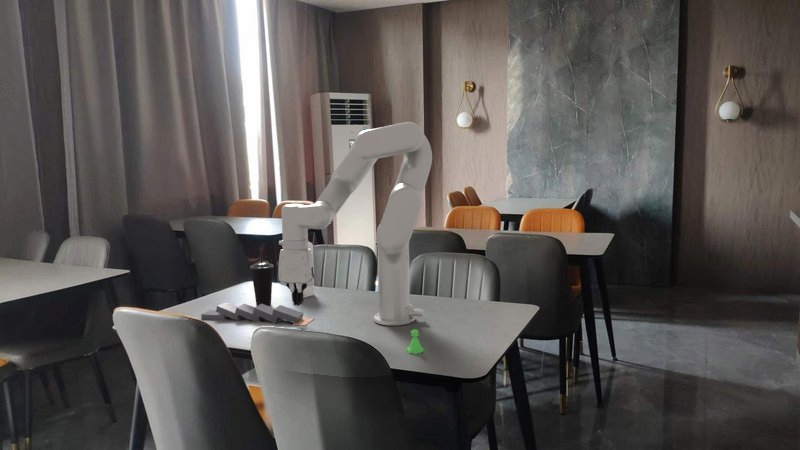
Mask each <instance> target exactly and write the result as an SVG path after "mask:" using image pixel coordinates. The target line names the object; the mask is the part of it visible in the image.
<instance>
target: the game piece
mask: <svg viewBox="0 0 800 450" xmlns="http://www.w3.org/2000/svg"><path fill="white" fill-rule="evenodd" d="M410 334H411V338H412V339H411V342H410V344H409V346H408V347H406V352H407V351H408V352H409V353H414V354H413V355H418V354H417V353H420V354H422V353H423V352H424V347H422V345H421V343H420V340H419V337H418V336H420V333H419V330H418V329H417V328H416V329H412V330H410ZM408 352H407V353H408ZM421 352H422V353H421ZM409 353H408V354H409Z"/></svg>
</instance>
